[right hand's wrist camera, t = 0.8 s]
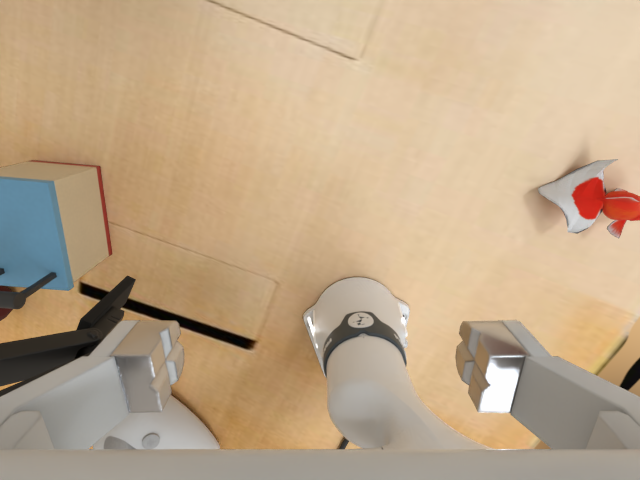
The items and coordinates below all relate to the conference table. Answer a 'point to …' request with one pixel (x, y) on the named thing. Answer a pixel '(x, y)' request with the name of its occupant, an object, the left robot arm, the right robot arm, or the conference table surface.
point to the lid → (31, 240)
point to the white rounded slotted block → (160, 431)
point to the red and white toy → (591, 199)
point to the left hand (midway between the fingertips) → (49, 254)
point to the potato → (3, 312)
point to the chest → (74, 209)
